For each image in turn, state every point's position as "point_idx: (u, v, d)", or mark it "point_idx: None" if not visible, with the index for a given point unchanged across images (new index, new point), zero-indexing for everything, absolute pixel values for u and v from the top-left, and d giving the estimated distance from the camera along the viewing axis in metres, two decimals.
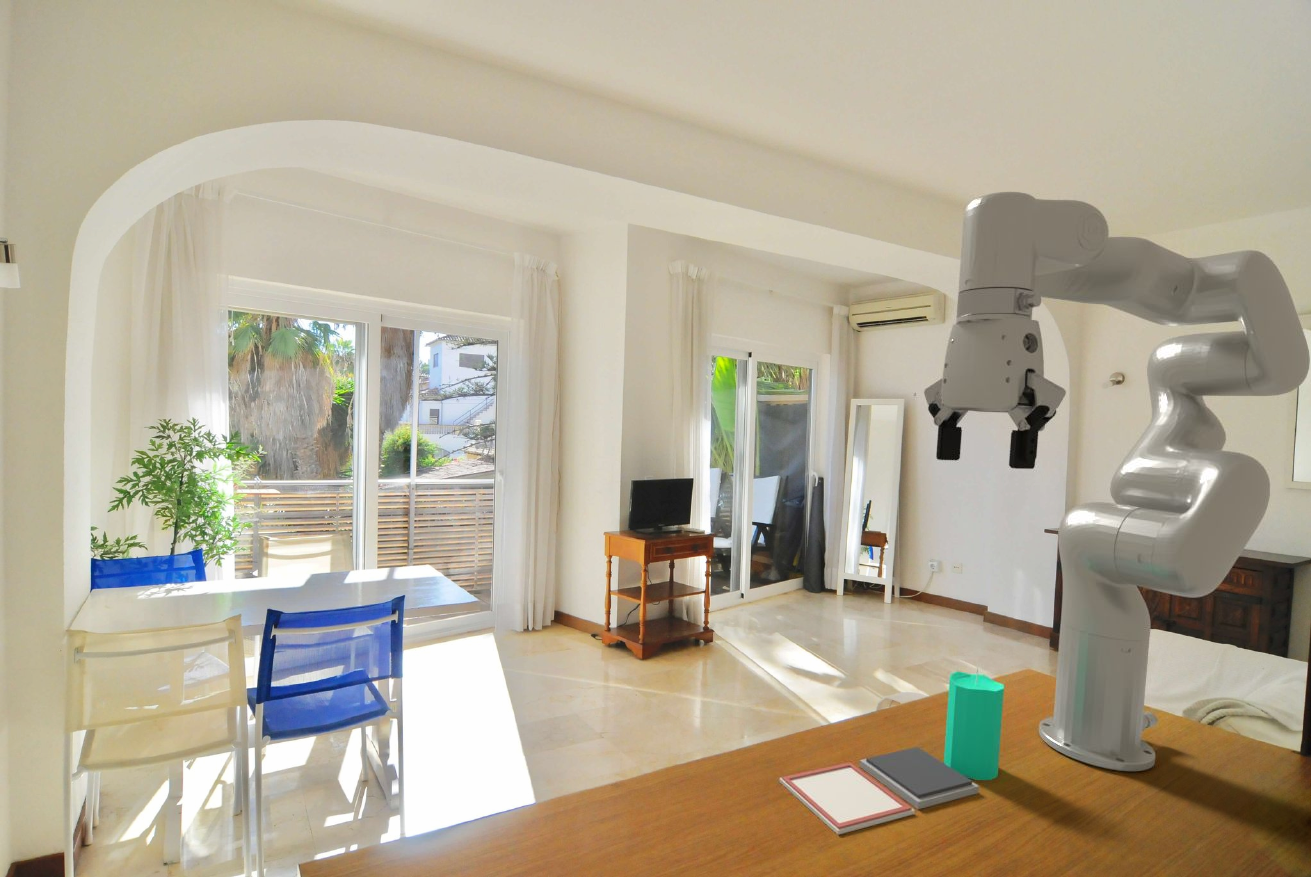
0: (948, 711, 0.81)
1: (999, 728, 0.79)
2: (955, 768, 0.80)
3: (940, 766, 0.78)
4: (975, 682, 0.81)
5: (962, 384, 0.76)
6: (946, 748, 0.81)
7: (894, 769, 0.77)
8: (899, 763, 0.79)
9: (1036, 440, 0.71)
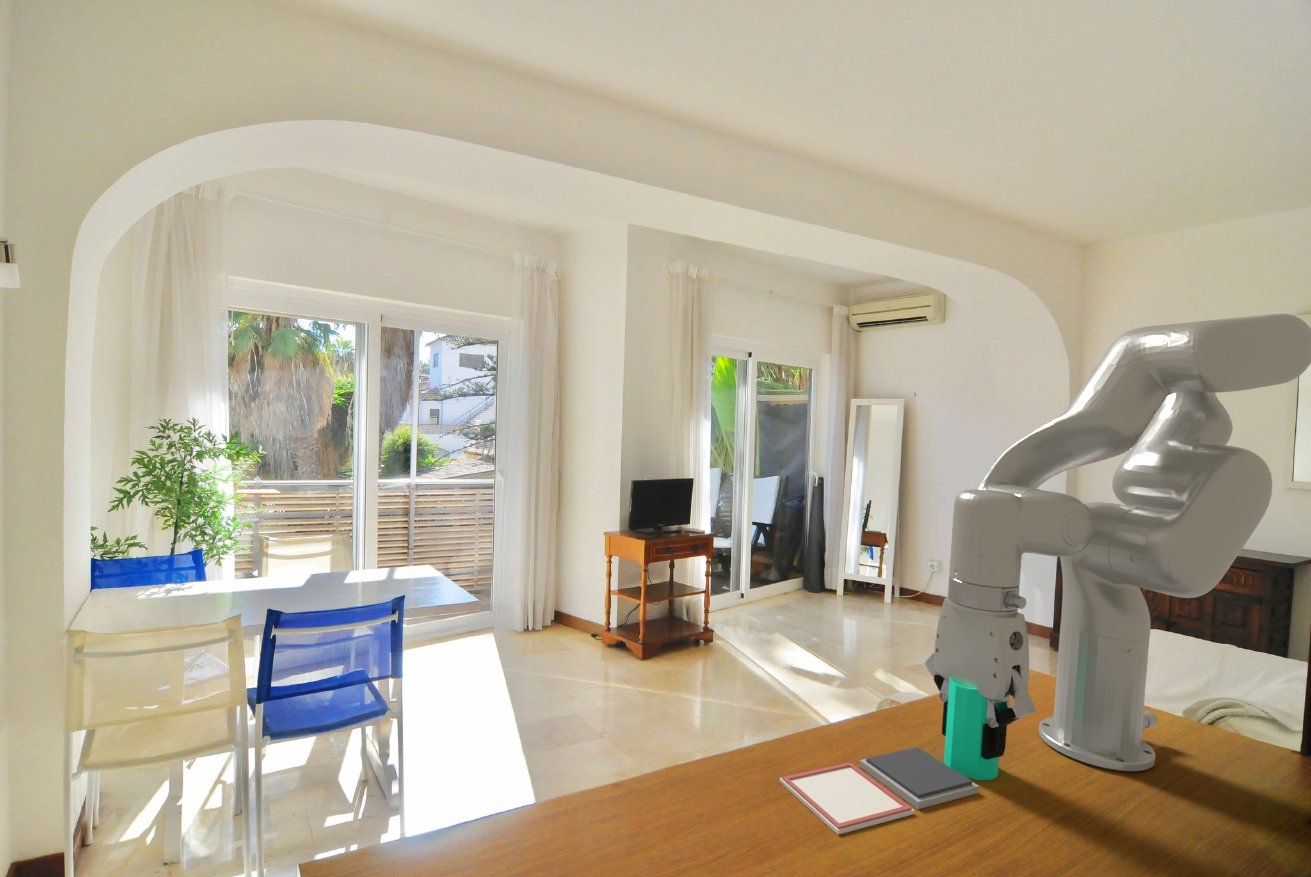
0: (947, 711, 0.81)
1: None
2: (955, 768, 0.80)
3: (940, 766, 0.78)
4: None
5: (953, 661, 0.81)
6: (946, 748, 0.81)
7: (894, 769, 0.77)
8: (899, 763, 0.79)
9: (1005, 734, 0.78)
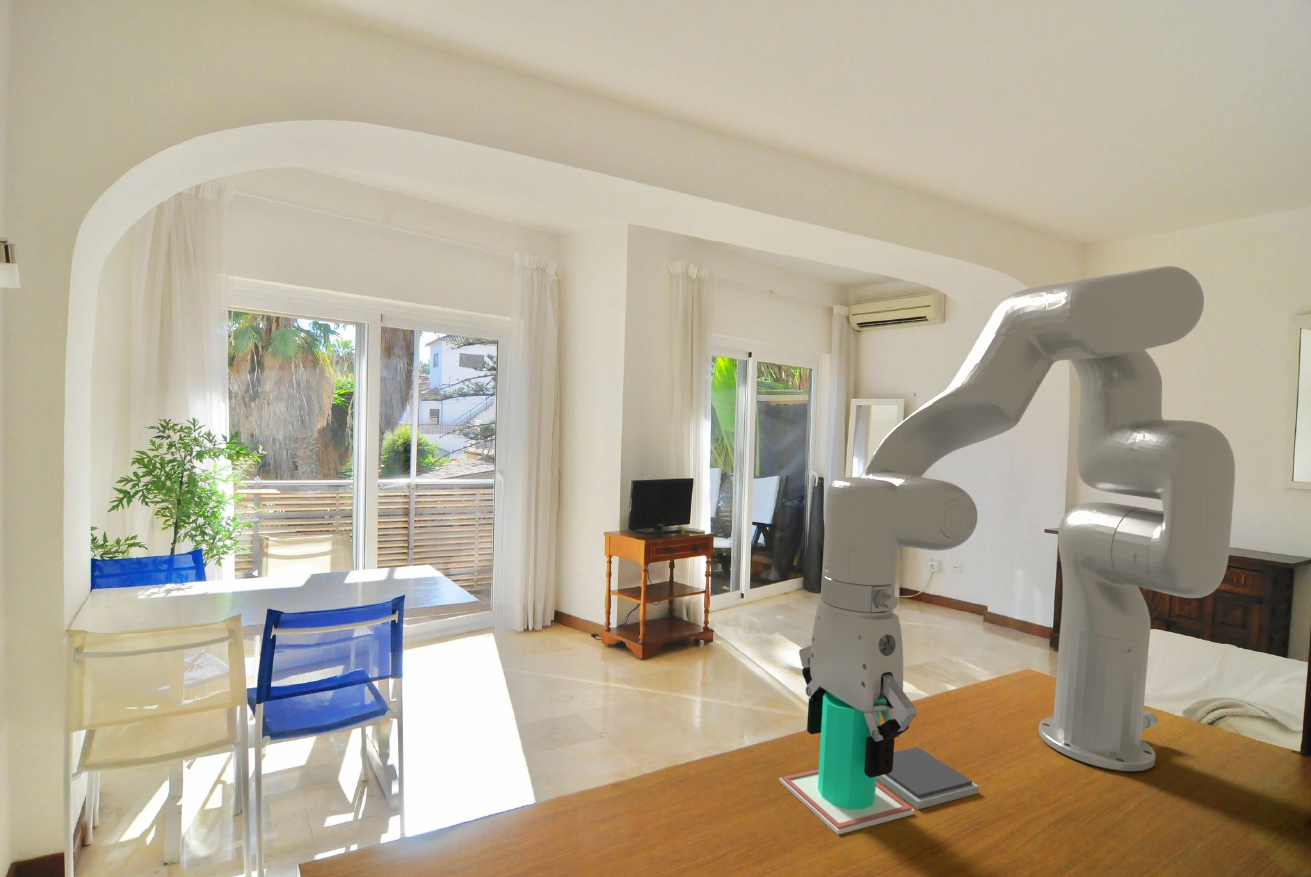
0: (821, 732, 0.74)
1: None
2: (826, 795, 0.72)
3: (940, 766, 0.78)
4: None
5: (826, 667, 0.73)
6: (819, 773, 0.73)
7: (894, 769, 0.77)
8: (899, 763, 0.79)
9: (891, 748, 0.68)
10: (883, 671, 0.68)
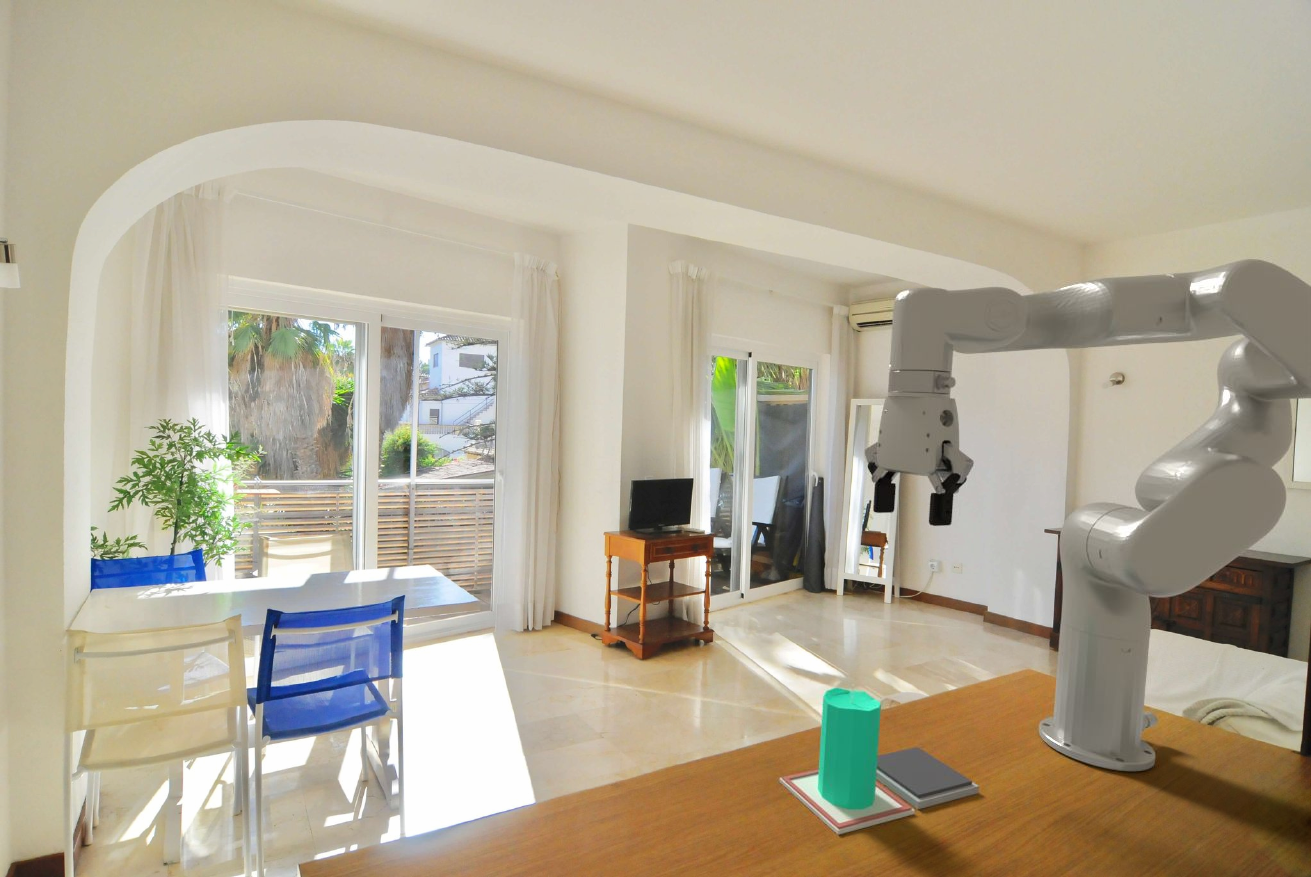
0: (821, 732, 0.73)
1: (873, 751, 0.71)
2: (826, 795, 0.72)
3: (940, 766, 0.78)
4: None
5: (892, 449, 0.88)
6: (819, 773, 0.73)
7: (894, 769, 0.77)
8: (899, 763, 0.79)
9: (951, 501, 0.83)
10: (943, 439, 0.83)
